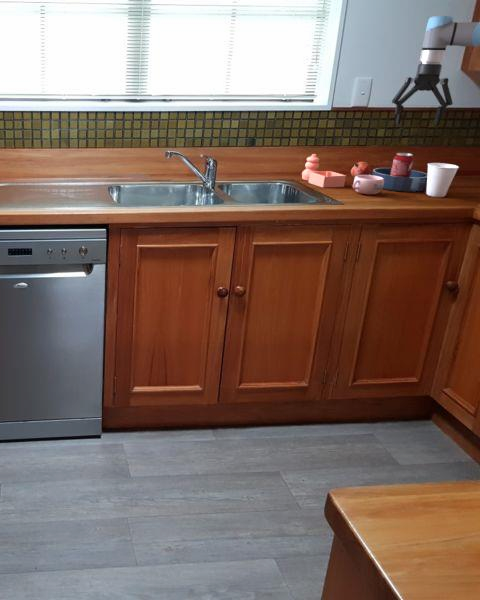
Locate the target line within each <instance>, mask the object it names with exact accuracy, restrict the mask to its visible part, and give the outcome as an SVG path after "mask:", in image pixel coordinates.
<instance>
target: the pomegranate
mask: <svg viewBox="0 0 480 600" xmlns="http://www.w3.org/2000/svg"><path fill="white" fill-rule="evenodd" d="M353 165H354V166H353V167H352V168H351V170H350V174H351V176H352V177H353V178H354V179H355V177H356V176H357V175H371V166H370V164H369V162H366V161H359V162H356V163H353Z"/></svg>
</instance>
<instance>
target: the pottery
mask: <svg viewBox="0 0 480 600" xmlns="http://www.w3.org/2000/svg"><path fill="white" fill-rule="evenodd" d="M319 162H320V158H319V157H318V156H317V154H316V153H312V154H311V156H308V157H307V158H306V163H305V165H304V167H305V169H304V170H303V171H302V172H301V179H302V180H305V181H308V184H311V185H315V186H317V187H320V188H323V189H324V188H344V187H345V184H346V179H347V175H345V174H342V173H339V172H335V171H332V170H326V171H325V170H324V171H323V170H322V171H321V170H320V171H319V170H318V169H319V168H320V163H319Z"/></svg>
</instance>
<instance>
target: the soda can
mask: <svg viewBox="0 0 480 600" xmlns="http://www.w3.org/2000/svg"><path fill="white" fill-rule="evenodd" d="M413 156H414V155H413V153H408V152H396V155H395V156H394V157H393V160H392V164H391V168H392V169H391V173H390V175H391V176H398V177H410V173H411V170H413V164H414V157H413Z"/></svg>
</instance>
